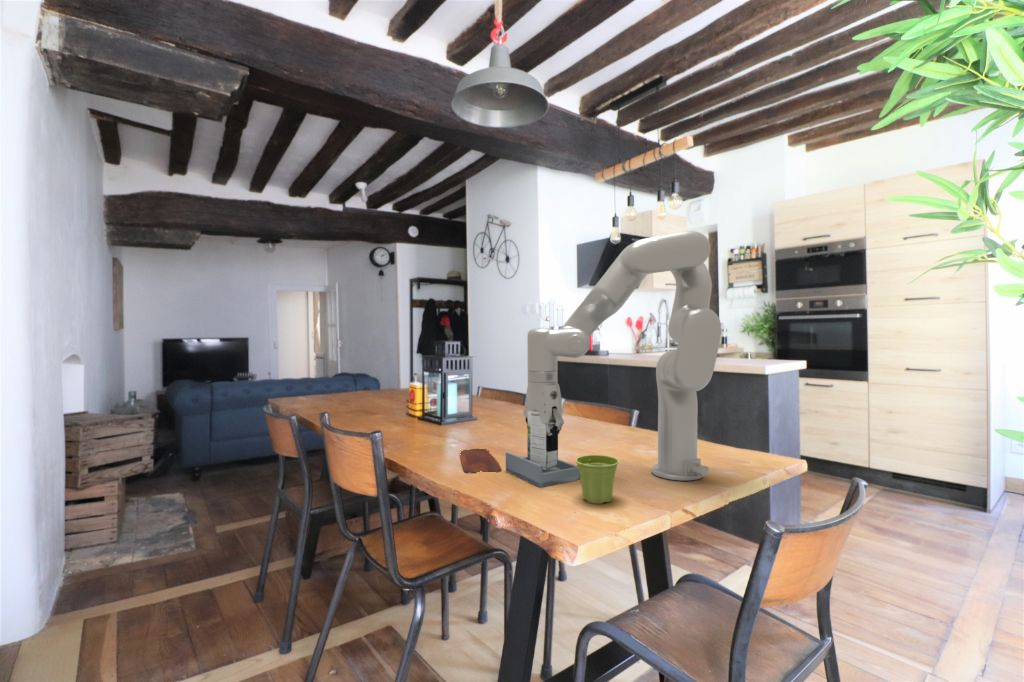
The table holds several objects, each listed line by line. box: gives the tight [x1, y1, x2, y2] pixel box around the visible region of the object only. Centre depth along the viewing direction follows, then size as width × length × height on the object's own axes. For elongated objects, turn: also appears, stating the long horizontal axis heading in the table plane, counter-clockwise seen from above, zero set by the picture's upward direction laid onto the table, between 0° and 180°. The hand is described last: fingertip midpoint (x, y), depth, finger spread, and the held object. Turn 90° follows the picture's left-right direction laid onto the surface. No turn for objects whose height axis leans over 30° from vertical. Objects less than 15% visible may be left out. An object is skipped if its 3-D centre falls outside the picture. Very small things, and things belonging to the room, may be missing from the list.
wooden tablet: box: [459, 448, 502, 474], centre depth 144 cm, size 27×10×2 cm, turn 10°
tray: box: [505, 451, 581, 488], centre depth 129 cm, size 16×12×5 cm
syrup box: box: [526, 410, 559, 470], centre depth 128 cm, size 6×6×14 cm
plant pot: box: [575, 454, 620, 505], centre depth 111 cm, size 9×9×9 cm
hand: (542, 447), depth 129 cm, fingers open, 7 cm apart
